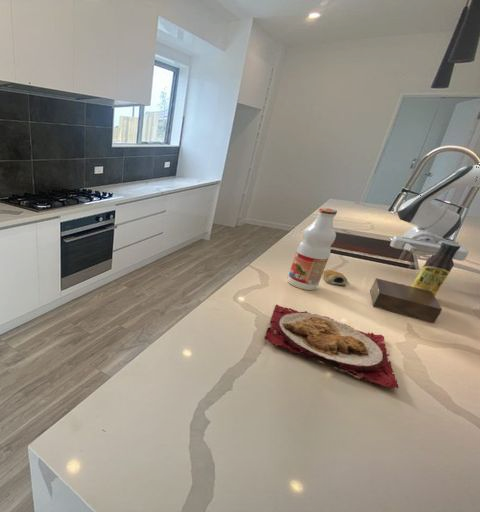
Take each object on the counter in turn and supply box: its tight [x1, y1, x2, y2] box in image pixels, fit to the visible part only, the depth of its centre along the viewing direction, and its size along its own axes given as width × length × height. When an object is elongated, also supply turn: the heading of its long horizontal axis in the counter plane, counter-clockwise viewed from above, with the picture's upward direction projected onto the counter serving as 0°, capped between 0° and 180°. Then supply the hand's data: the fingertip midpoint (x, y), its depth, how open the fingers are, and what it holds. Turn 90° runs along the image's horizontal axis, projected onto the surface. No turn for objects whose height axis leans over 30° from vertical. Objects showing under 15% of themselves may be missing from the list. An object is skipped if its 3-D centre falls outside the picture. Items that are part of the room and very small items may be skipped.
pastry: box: [322, 269, 349, 286], centre depth 113 cm, size 9×7×4 cm
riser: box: [369, 277, 443, 324], centre depth 97 cm, size 14×14×5 cm
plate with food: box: [263, 304, 400, 389], centre depth 78 cm, size 24×26×4 cm
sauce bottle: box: [410, 242, 461, 296], centre depth 100 cm, size 6×6×20 cm
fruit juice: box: [287, 207, 338, 291], centre depth 103 cm, size 9×9×28 cm
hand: (430, 253), depth 108 cm, fingers open, 8 cm apart
